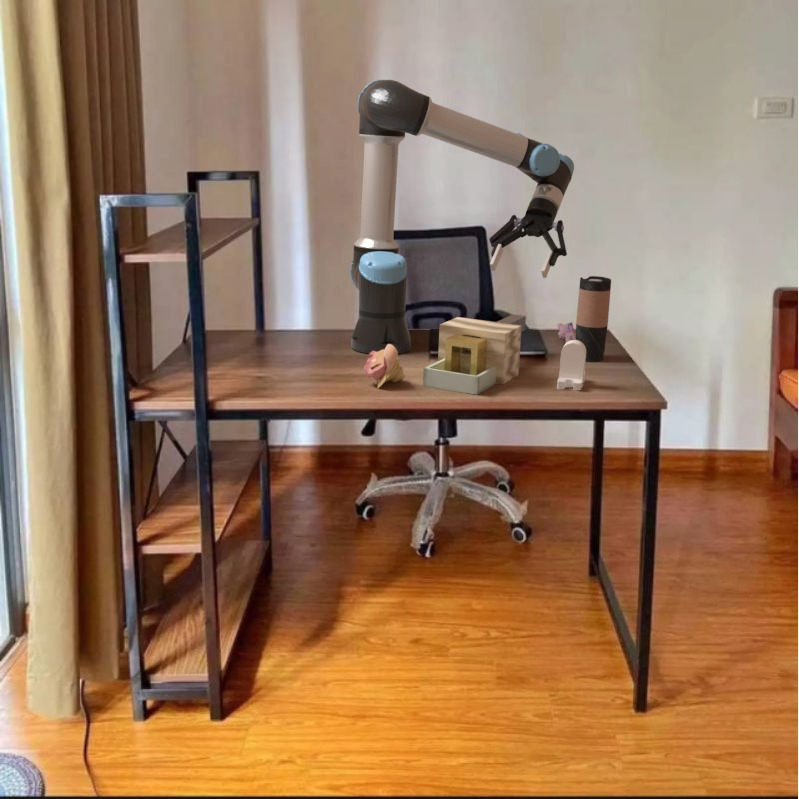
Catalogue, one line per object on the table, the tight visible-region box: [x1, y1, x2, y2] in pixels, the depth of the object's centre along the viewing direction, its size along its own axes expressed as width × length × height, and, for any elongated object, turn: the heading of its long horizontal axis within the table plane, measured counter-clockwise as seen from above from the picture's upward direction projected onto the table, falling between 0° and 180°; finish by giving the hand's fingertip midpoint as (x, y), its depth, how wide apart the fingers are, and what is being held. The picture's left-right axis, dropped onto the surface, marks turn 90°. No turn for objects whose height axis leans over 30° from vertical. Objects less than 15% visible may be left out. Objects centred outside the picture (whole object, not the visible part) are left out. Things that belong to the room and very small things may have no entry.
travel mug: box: [575, 275, 612, 363], centre depth 250 cm, size 8×8×20 cm
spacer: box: [445, 334, 487, 376], centre depth 227 cm, size 5×8×9 cm, turn 63°
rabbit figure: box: [557, 321, 576, 344], centre depth 271 cm, size 6×6×15 cm
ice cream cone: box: [363, 344, 406, 389], centre depth 225 cm, size 9×10×10 cm
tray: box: [422, 358, 497, 396], centre depth 226 cm, size 13×10×4 cm
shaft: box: [466, 314, 527, 351], centre depth 242 cm, size 28×4×4 cm, turn 152°
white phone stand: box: [556, 340, 586, 391], centre depth 228 cm, size 5×10×10 cm, turn 164°
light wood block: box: [437, 316, 522, 385], centre depth 233 cm, size 10×16×12 cm, turn 62°
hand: (517, 271), depth 253 cm, fingers open, 13 cm apart
